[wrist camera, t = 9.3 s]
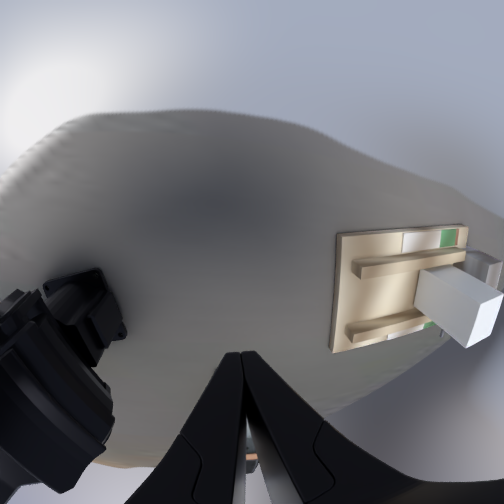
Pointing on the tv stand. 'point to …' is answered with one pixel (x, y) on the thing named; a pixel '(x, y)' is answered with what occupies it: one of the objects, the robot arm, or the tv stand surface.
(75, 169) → the tv stand surface
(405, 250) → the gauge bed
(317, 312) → the tv stand surface
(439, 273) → the white rectangular block
